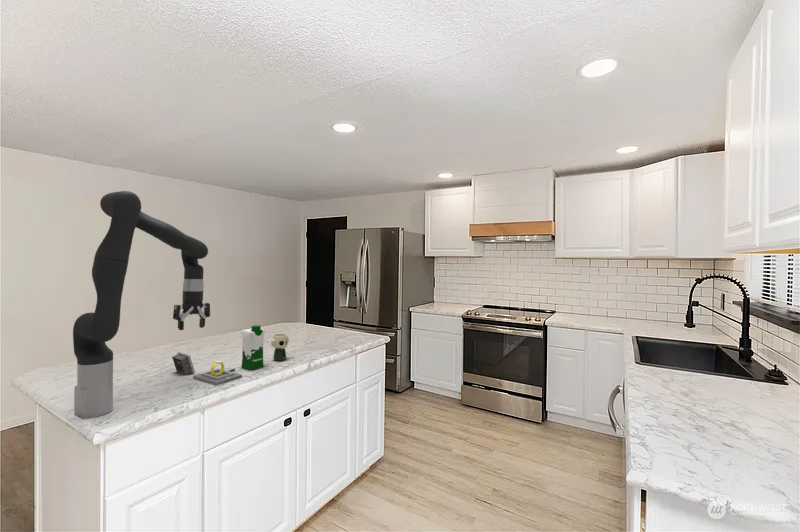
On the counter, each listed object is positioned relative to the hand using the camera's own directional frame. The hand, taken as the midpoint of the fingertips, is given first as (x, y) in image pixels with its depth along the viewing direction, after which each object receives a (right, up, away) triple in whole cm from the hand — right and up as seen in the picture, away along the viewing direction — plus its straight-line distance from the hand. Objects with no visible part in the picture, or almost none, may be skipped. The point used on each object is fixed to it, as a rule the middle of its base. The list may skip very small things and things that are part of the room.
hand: (191, 328), depth 153 cm
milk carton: (+17, -22, +22) cm, 35 cm away
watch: (+8, -21, +6) cm, 23 cm away
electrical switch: (-10, -22, +11) cm, 27 cm away
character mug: (+25, -22, +35) cm, 49 cm away
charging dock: (+9, -22, +8) cm, 25 cm away
